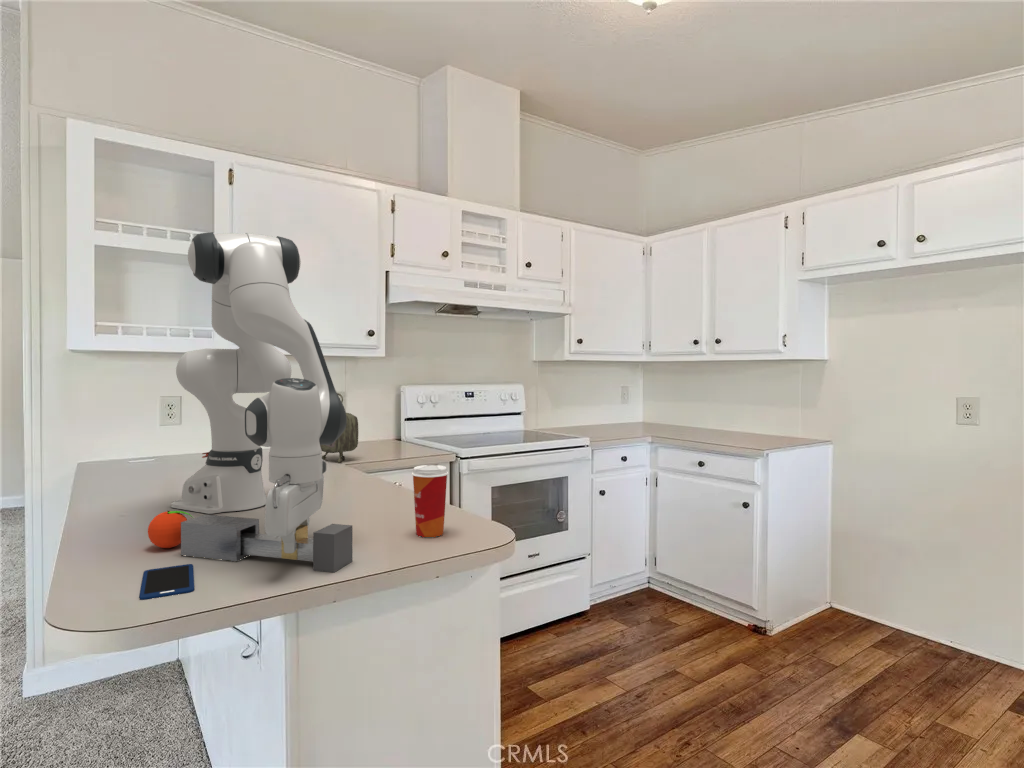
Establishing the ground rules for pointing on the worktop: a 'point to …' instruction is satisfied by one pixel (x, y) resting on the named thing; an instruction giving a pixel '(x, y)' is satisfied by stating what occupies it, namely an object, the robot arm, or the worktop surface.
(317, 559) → the socket
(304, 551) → the gold-banded square post
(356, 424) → the tabletop clock
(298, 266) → the robot arm
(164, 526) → the clementine
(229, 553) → the sleeve
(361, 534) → the worktop surface
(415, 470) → the paper cup
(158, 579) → the cell phone
